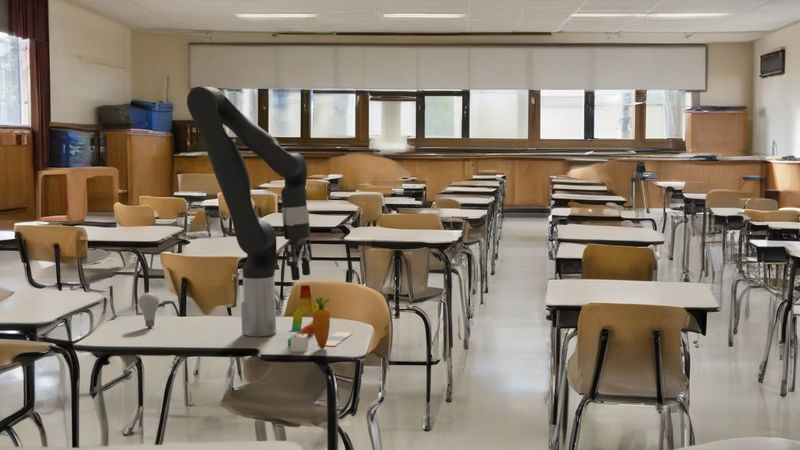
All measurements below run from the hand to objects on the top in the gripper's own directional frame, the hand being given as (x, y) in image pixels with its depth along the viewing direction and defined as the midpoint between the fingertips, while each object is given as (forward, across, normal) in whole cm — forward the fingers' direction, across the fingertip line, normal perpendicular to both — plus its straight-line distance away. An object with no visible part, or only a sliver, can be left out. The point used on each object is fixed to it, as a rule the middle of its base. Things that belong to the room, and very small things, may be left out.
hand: (301, 277), depth 272 cm
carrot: (+18, +15, +10) cm, 25 cm away
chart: (+18, -4, -1) cm, 18 cm away
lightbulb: (+14, -1, -51) cm, 53 cm away
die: (+18, +16, +4) cm, 24 cm away
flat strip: (+18, +3, +10) cm, 21 cm away
